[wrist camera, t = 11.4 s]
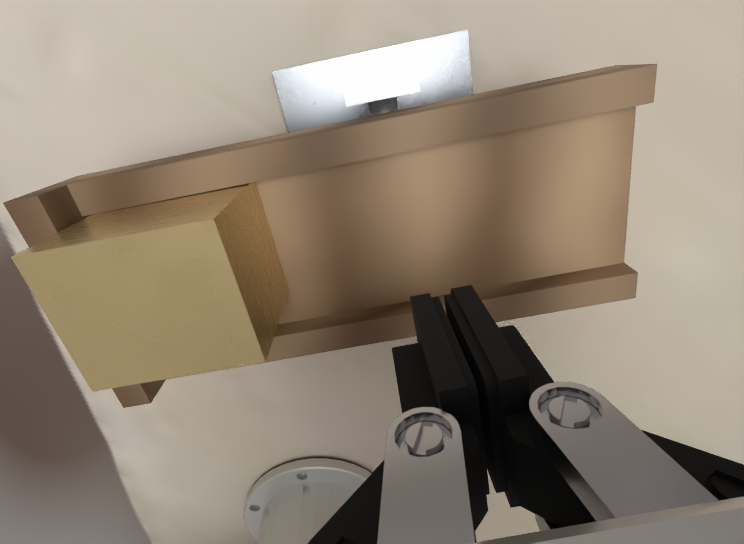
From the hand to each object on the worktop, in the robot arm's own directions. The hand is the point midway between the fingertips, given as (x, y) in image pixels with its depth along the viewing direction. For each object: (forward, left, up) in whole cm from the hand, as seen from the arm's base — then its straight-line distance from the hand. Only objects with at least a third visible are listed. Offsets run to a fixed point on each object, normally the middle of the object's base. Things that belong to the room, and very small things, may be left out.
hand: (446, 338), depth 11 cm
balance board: (+1, +2, -8) cm, 9 cm away
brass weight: (+2, +9, -7) cm, 11 cm away
